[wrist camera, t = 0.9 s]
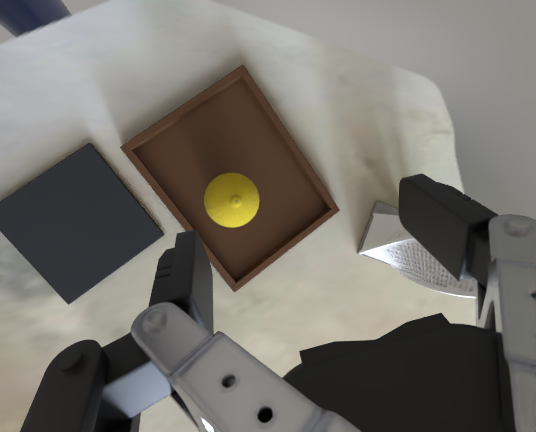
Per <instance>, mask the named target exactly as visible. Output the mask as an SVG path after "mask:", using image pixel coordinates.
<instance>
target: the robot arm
mask: <svg viewBox="0 0 536 432" xmlns="http://www.w3.org/2000/svg"><path fill="white" fill-rule="evenodd" d="M399 219H400V222H401V224H402V226H403V227H404V228H405V229H406V230H407V231H408V232H409V233H410V234H411V235H412V236H413V237H414V238H415V239H416V240H417V241H418V242H419V243H420V244H421V245H422V246H423V247H424V248H425V249H426V250H427V251H428V252H429V253H430V254H431V255H432V256H433V257H434V258H435V259H436V260H437V261H438V262H439V263H440V264H441V265H442V266H443V267H444V268H445V269H446V270H447V271H448V272H449V273H450V274H452V275H453V276H454V277H455V278H456V279H457V280H458V281H459V282H461V281H464V280H468V279H472V278H475V279H476V280H477V283H476V289H475V295H476V326H472V325H465V324H450V323H449V321H448V320H447V319H446V318H445V317H444V316H443V314H442V313H439V314H435V315H431V316H428V317H424V318H420V319H417V320H413V321H409V322H406V323H405V324H403V325H401V326H399V327H398V328H396V329H394V330H392V331H391V332H389V333H387V334H385V335H384V336H382V337H380V338H378V339H376V340H365V341H338V342H332V343H328V344H324V345H320V346H317V347H313V348H309V349H306V350H302V351H299V352H300V356H301V361H302V363H301V364H299V365H298V366H296V367H294V368H293V369H292V370H290V371H289V372H288V373H287V374H286V375H285V376H284V377H283V378H281V377H280V376H278V375H277V374H276V373H274V372H273V371H272V370H271V369H269V368H268V367H267V366H265V365H264V364H263V363H262V362H260V361H259V360H258V359H256V358H255V357H254V356H252V355H251V354H250V353H249V352H247V351H246V350H245V349H243V348H242V347H241V346H240V345H238V344H237V343H236V342H234V341H233V340H232V339H231V338H229V337H228V336H227V335H225V334H224V333H222V332H219V331H218V332H217V333H215V334H214V331H213V278H212V269H211V265H210V261H209V258H208V256H207V253H206V250H205V247H204V245H203V242H202V239H201V236H200V234H199V231H198V230H197V229H194V230H190V231H186V232H182V233H178V234H177V236H176V242H175V248H171V249H167V250H166V251H165V252H164V253H163V255H162V256H161V257H160V259H159V261H158V266H157V271H156V275H155V280H154V284H153V288H152V293H151V297H150V302H149V307H148V308H147V309H145V310H144V311H143V312H141V313H140V314H139V315H138V316H137V318H136V319H135V320H134V322H133V324H132V326H131V332H130V333H128V334H127V335H125V336H123V337H122V338H120V339H118V340H116V341H114V342H112V343H110V344H108V345H106V346H104V347H101V346H100V345H99V343H98V342H96V341H94V340H83V341H79V342H77V343H75V344H72V345H71V346H69V347H67V348H66V349H64V350H63V351H62V352H60V353H59V354H58V355H57V356H56V357H55V358H54V359H53V360H52V362H51V363H50V364H49V366H48V368H47V369H46V372H45V374H44V376H43V379H42V381H41V383H40V386H39V388H38V390H37V393H36V395H35V397H34V400H33V402H32V405H31V407H30V409H29V412H28V414H27V416H26V419H25V421H24V423H23V426H22V428H21V431H20V432H139V424H140V415H141V412H142V411H143V410H145V409H147V408H148V407H150V406H152V405H153V404H155V403H157V402H158V401H160V400H162V399H163V398H165V397H167V396H168V395H169V396H170V397H171V398H172V400H173V401H174V402H175V403H176V404H177V406H178V407H179V408H180V409H181V410H182V412H183V413H184V414H185V415H186V416H187V418H188V419H189V420H190V421H191V422H192V424H193V425H194V426H195V427H196V428H197V429H198V431H199V432H536V220H534V219H532V218H529V217H526V216H521V215H512V214H509V215H500V216H499V215H498V214H496V213H494V212H493V211H491V210H489V209H488V208H486V207H485V206H483V205H481V204H480V203H478V202H476V201H475V200H471V198H470V197H468V196H467V195H465V194H463V193H462V192H460V191H459V190H457V189H455V188H454V187H452V186H449V185H445V184H442V183H439V182H435V181H434V180H432V179H431V178H429V177H427V176H426V175H424V174H418V175H413V176H409V177H405V178H402V179H401V180H400V184H399Z"/></svg>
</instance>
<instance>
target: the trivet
mask: <svg viewBox="0 0 536 432" xmlns="http://www.w3.org/2000/svg"><path fill="white" fill-rule="evenodd" d="M0 231H1V232H2V233H3V234H4V235H5V237H6V238H7V239H8V240H9V241H10V242H11V243H12V244H13V245H14V246H15V247H16V248H17V250H18V251H19V252H20V253H21V254H22V255H23V256H24V257H25V258H26V259H27V260H28V261H29V262H30V264H31V265H32V266H33V267H34V268H35V269H36V270H37V271H38V272H39V273H40V274H41V275H42V277H43V278H44V279H45V280H46V281H47V282H48V283H49V284H50V285H51V286H52V287H53V288H54V290H55V291H56V292H57V293H58V294H59V295H60V296H61V297H62V298H63V299H64V300H65V301H66V303H67V304H70V303H72V302H73V301H74V300H76V299H77V298H78V297H80V296H81V295H83V294H84V293H85V292H87V291H88V290H89V289H91V288H92V287H94V286H95V285H96V284H98V283H99V282H100V281H102V280H103V279H105V278H106V277H107V276H109V275H110V274H111V273H113V272H114V271H116V270H117V269H118V268H120V267H121V266H122V265H124V264H125V263H127V262H128V261H129V260H131V259H132V258H133V257H135V256H136V255H138V254H139V253H140V252H142V251H143V250H144V249H146V248H147V247H149V246H150V245H151V244H153V243H154V242H155V241H157V240H158V239H159V238H161V237H162V236H164V233H163V232H162V231H161V230H160V228H159V227H158V226H157V225H156V223H155V222H154V221H153V220H152V218H151V217H150V216H149V215H148V213H147V212H146V211H145V210H144V208H143V207H142V206H141V205H140V203H139V202H138V201H137V200H136V199H135V197H134V196H133V195H132V194H131V192H130V191H129V190H128V189H127V187H126V186H125V185H124V184H123V182H122V181H121V180H120V179H119V177H118V176H117V175H116V174H115V172H114V171H113V170H112V169H111V167H110V166H109V165H108V164H107V162H106V161H105V160H104V159H103V158H102V156H101V155H100V154H99V153H98V151H97V150H96V149H95V148H94V146H93V145H92V144H91V143H89V144H87V145H86V146H84V147H83V148H81V149H80V150H78V151H76V152H75V153H73V154H72V155H70V156H69V157H67V158H66V159H64V160H63V161H61V162H60V163H58V164H57V165H55V166H54V167H52V168H51V169H49V170H48V171H46V172H45V173H43V174H42V175H40V176H39V177H37V178H36V179H34V180H33V181H31V182H30V183H28V184H27V185H25V186H24V187H22V188H21V189H19V190H18V191H16V192H15V193H13V194H11V195H10V196H8V197H7V198H5V199H4V200H2V201H1V202H0Z"/></svg>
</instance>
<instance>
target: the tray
mask: <svg viewBox="0 0 536 432" xmlns="http://www.w3.org/2000/svg"><path fill="white" fill-rule="evenodd" d="M120 148H121V149H122V151H123V152H124V153H125V154H126V156H127V157H128V158H129V159H130V161H131V162H132V163H133V164H134V166H135V167H136V168H137V170H138V171H139V172H140V173H141V175H142V176H143V177H144V178H145V180H146V181H147V182H148V184H149V185H150V186H151V187H152V189H153V190H154V191H155V192H156V194H157V195H158V196H159V198H160V199H161V200H162V201H163V203H164V204H165V205H166V206H167V208H168V209H169V210H170V211H171V213H172V214H173V215H174V217H175V218H176V219H177V220H178V222H179V223H180V224H181V225H182V227H183V228H184V229H185V231H190V230H194V229H197V230H198V231H199V234H200V236H201V239H202V242H203V245H204V247H205V250H206V253H207V256H208V258H209V261H210V262H211V264H212V265H213V266H214V267H215V269H216V270H217V271H218V272H219V274H220V275H221V276H222V277H223V279H224V280H225V281H226V283H227V284H228V285H229V286H230V287H231V289H232V290H233V291H234V292H236V291H237V290H238V289H240V288H241V287H242V286H244V285H245V284H246V283H247V282H249V281H250V280H251V279H253V278H254V277H255V276H256V275H258V274H259V273H260V272H262V271H263V270H264V269H265V268H267V267H268V266H269V265H271V264H272V263H273V262H274V261H276V260H277V259H278V258H280V257H281V256H282V255H283V254H285V253H286V252H287V251H288V250H290V249H291V248H292V247H294V246H295V245H296V244H297V243H299V242H300V241H301V240H303V239H304V238H305V237H306V236H308V235H309V234H310V233H312V232H313V231H314V230H315V229H317V228H318V227H319V226H321V225H322V224H323V223H324V222H326V221H327V220H328V219H329V218H331V217H332V216H333V215H335V214H336V213H337V212H338V211H340V210H339V208H338V207H337V205H336V204H335V202H334V201H333V199H332V198H331V196H330V195H329V193H328V192H327V190H326V189H325V187H324V186H323V184H322V182H321V181H320V179H319V178H318V176H317V175H316V173H315V172H314V170H313V169H312V167H311V166H310V164H309V163H308V161H307V160H306V158H305V157H304V155H303V154H302V152H301V151H300V149H299V148H298V146H297V145H296V143H295V142H294V140H293V139H292V137H291V136H290V134H289V133H288V131H287V130H286V128H285V127H284V125H283V124H282V122H281V121H280V119H279V118H278V116H277V115H276V113H275V112H274V110H273V109H272V107H271V106H270V104H269V103H268V101H267V100H266V98H265V97H264V95H263V94H262V92H261V91H260V89H259V88H258V86H257V85H256V83H255V82H254V80H253V79H252V77H251V76H250V74H249V73H248V71H247V70H246V68H245V67H244V65H242V66H240V67H239V68H237V69H236V70H234V71H233V72H231V73H230V74H228V75H227V76H225V77H224V78H222V79H221V80H219V81H218V82H216V83H215V84H213V85H212V86H210V87H209V88H207V89H206V90H204V91H203V92H201V93H200V94H198V95H197V96H195V97H194V98H192V99H191V100H190V101H188V102H187V103H185V104H184V105H182V106H181V107H179V108H178V109H176V110H175V111H173V112H172V113H170V114H169V115H167V116H166V117H164V118H163V119H161V120H160V121H158V122H157V123H155V124H154V125H152V126H151V127H149V128H148V129H146V130H145V131H143V132H142V133H140V134H139V135H137V136H136V137H135V138H133V139H132V140H130V141H129V142H127V143H126V144H124V145H123V146H121V147H120ZM225 173H238V174H242V175H244V176H246V177H247V178H249V179H250V180H251V181H252V182H253V183H254V185H255V186H256V188H257V190H258V193H259V200H260V201H259V208H258V210H257V213H256V214H255V216H254V217H253V218H252V219H251V220H250V221H249V222H248V223H246V224H244V225H242V226H239V227H234V228H233V227H225V226H222V225H219V224H218V223H216V222H214V221H213V220H212V219H211V217H210V216H209V215H208V213H207V211H206V209H205V205H204V195H205V191H206V189H207V187H208V185H209V183H210V182H211V181H212V180H213V179H214V178H216V177H218V176H219V175H222V174H225Z"/></svg>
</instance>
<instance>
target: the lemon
mask: <svg viewBox="0 0 536 432" xmlns="http://www.w3.org/2000/svg"><path fill="white" fill-rule="evenodd" d="M259 201H260V200H259V193H258V190H257V188H256V186H255V185H254V183H253V182H252V181H251V180H250V179H249V178H247V177H246V176H244V175H242V174H238V173H225V174H222V175H219V176H218V177H216V178H214V179H213V180H212V181H211V182H210V183H209V185H208V187H207V189H206V191H205V195H204V205H205V209H206V211H207V213H208V215H209V216H210V217H211V219H212V220H213V221H214V222H216V223H218V224H219V225H222V226H225V227H233V228H234V227H239V226H242V225H244V224H246V223H248V222H249V221H250V220H251V219H252V218H253V217H254V216H255V214H256V213H257V210H258V208H259Z"/></svg>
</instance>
